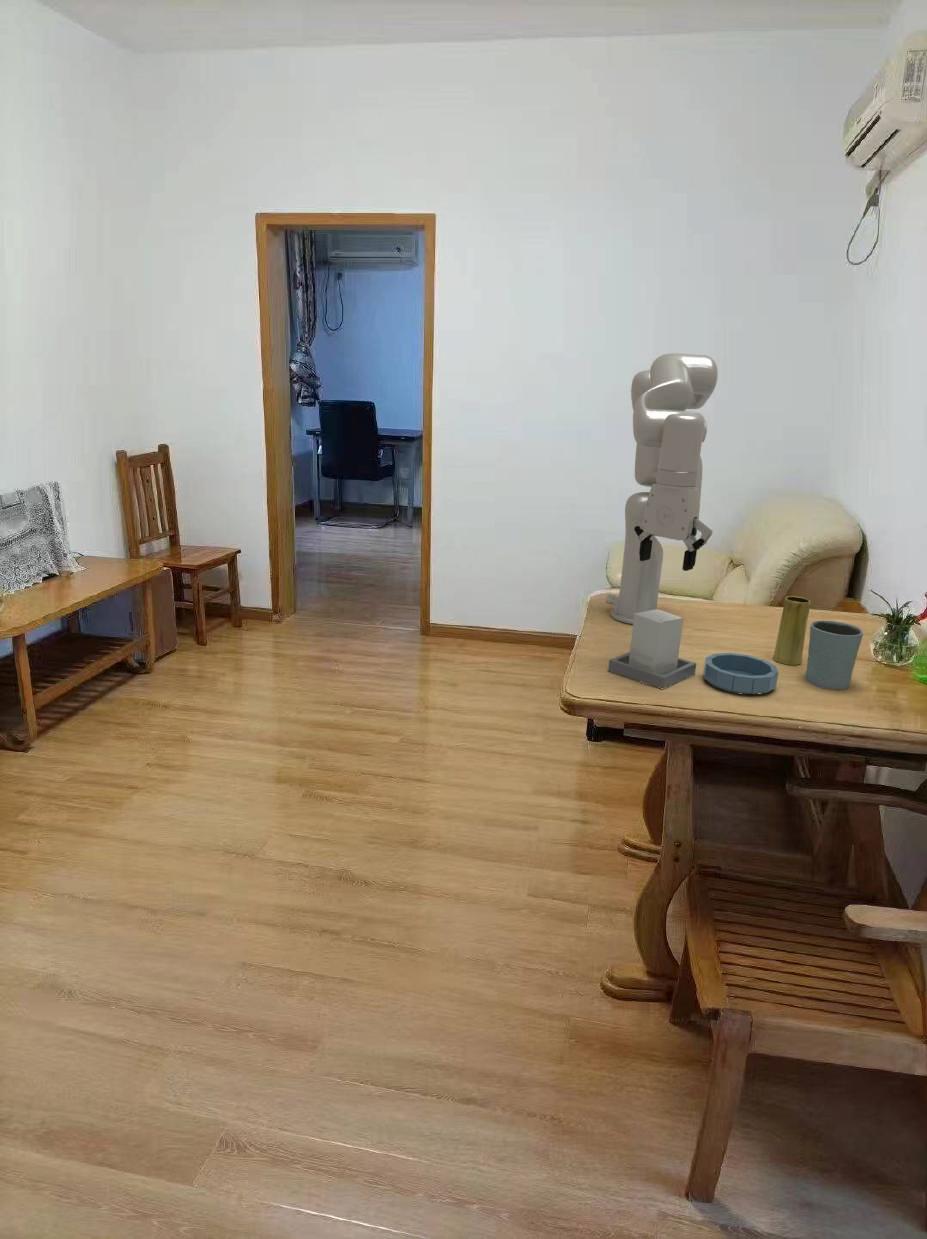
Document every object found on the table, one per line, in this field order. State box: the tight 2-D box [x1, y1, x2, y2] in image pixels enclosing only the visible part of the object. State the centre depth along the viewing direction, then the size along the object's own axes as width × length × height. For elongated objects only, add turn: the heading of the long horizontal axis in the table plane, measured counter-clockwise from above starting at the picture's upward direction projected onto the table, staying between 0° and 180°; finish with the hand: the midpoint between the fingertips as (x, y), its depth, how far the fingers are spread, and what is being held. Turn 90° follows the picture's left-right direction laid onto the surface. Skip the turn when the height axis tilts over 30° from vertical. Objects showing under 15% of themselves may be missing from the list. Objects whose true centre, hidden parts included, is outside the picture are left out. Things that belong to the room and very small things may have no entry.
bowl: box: [703, 652, 779, 695], centre depth 175 cm, size 14×14×4 cm
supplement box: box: [629, 608, 684, 675], centre depth 177 cm, size 7×7×13 cm
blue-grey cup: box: [805, 620, 864, 691], centre depth 177 cm, size 10×10×12 cm
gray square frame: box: [607, 651, 697, 690], centre depth 178 cm, size 13×13×2 cm
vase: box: [772, 595, 812, 666], centre depth 188 cm, size 6×6×14 cm
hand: (665, 564), depth 171 cm, fingers open, 9 cm apart
